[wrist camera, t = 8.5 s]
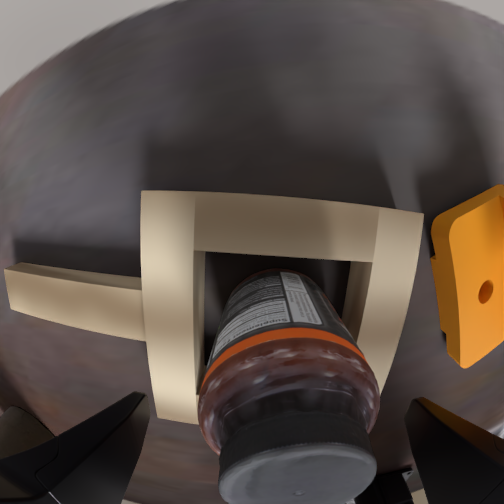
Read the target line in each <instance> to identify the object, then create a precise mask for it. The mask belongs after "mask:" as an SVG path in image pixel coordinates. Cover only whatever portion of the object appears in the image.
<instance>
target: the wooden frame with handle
mask: <svg viewBox="0 0 504 504" xmlns="http://www.w3.org/2000/svg"><path fill="white" fill-rule="evenodd" d="M423 219H424V214H422V213H416V212H411V211H405V210H399V209H392V208H385V207H377V206H370V205H362V204H354V203H345V202H336V201H327V200H317V199H307V198H296V197H284V196H271V195H257V194H242V193H223V192H200V191H165V190H158V191H141V228H140V239H141V278H139V277H130V276H121V275H112V274H104V273H96V272H87V271H80V270H72V269H64V268H57V267H50V266H43V265H36V264H29V263H23V262H21V263H18V264H15V265H13V266H10V267H8V268H5V269H4V273H5V280H6V286H7V292H8V297H9V302H10V307H11V309H12V310H16V311H19V312H22V313H25V314H28V315H32V316H35V317H39V318H42V319H46V320H49V321H53V322H57V323H61V324H64V325H68V326H73V327H77V328H81V329H85V330H90V331H94V332H99V333H104V334H108V335H113V336H119V337H124V338H129V339H135V340H141V341H146V343H147V352H148V360H149V368H150V375H151V382H152V388H153V394H154V400H155V406H156V411H157V416H158V418H163V419H168V420H173V421H179V422H186V423H192V424H199V423H198V412H197V410H198V400H199V394H200V391H201V387H202V384H203V380H204V376H205V372H206V369H207V366H205V363H204V286H205V251H211V252H226V253H241V254H255V255H270V256H285V257H299V258H314V259H329V260H344V261H351V265H350V272H349V278H348V285H347V291H346V297H345V302H344V308H343V313H342V318H341V320H342V322H343V324H344V325H345V327H346V328H347V330H348V331H349V333H350V334H351V336H352V337H353V339H354V341H355V342H356V344H357V345H358V347H359V349H360V350H361V351H362V353H363V354H364V357H365V359H366V361H367V363H368V364H369V366H370V367H371V369H372V371H373V372H374V375H375V378H376V380H377V383H378V387H379V393H380V395H381V392H382V390H383V387H384V384H385V382H386V379H387V376H388V373H389V370H390V367H391V364H392V361H393V358H394V355H395V352H396V349H397V346H398V342H399V339H400V335H401V332H402V328H403V325H404V321H405V317H406V313H407V309H408V305H409V301H410V296H411V292H412V287H413V282H414V277H415V272H416V267H417V261H418V255H419V249H420V242H421V235H422V227H423Z"/></svg>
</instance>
